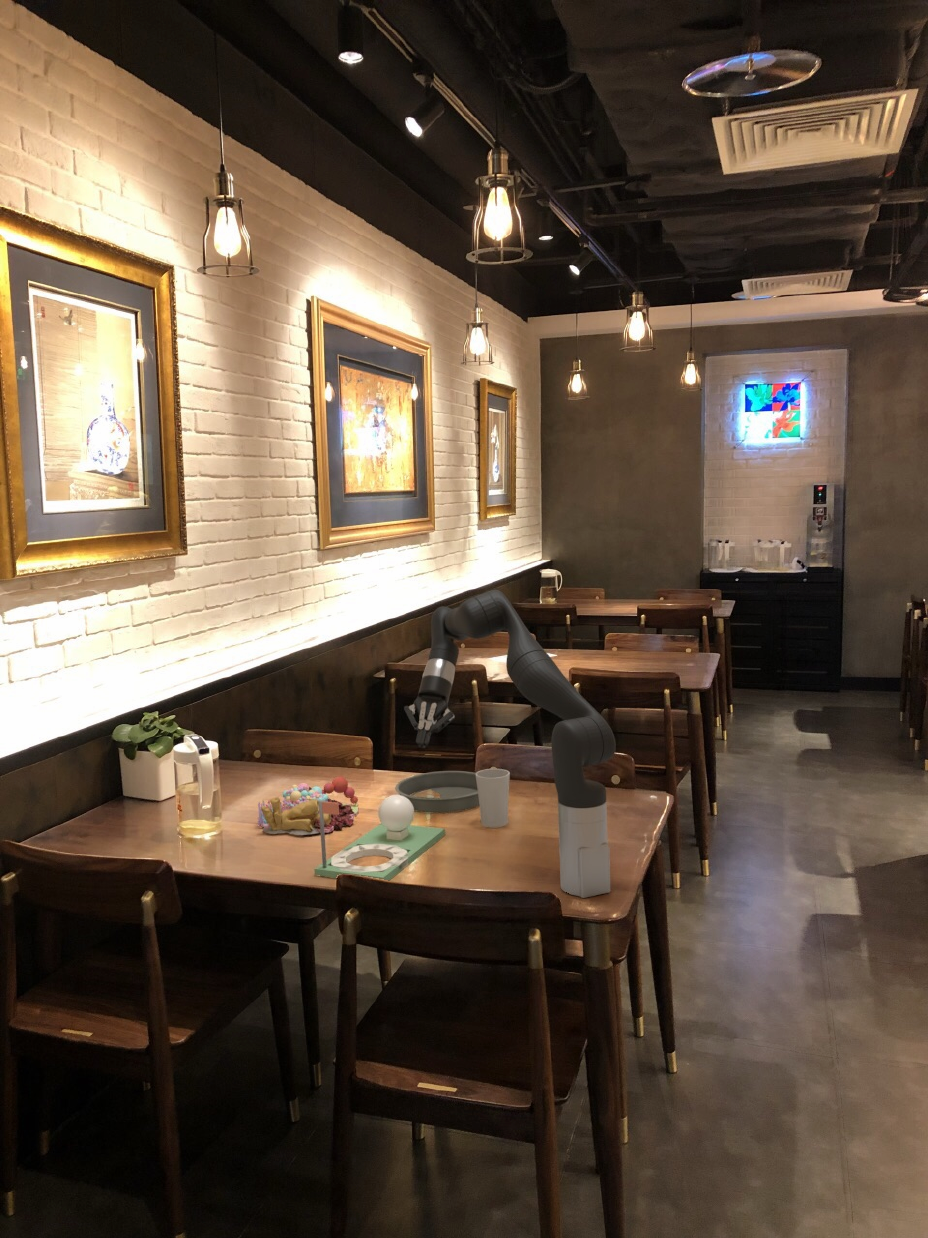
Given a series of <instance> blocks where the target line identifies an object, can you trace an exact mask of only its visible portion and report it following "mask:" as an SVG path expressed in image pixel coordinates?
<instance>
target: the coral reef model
mask: <svg viewBox="0 0 928 1238" xmlns="http://www.w3.org/2000/svg"><path fill="white" fill-rule="evenodd" d="M334 792H335V793H336V794H341V793H343V795H344V797H345V798H347V799H349V801H350V803H345V802H344V803H343V802H341V801H338V800H335V799H333V800H332V799H331V797H329V795H330V794H332V793H334ZM355 793H356V792H355V789H354V788H353V787H352V786H349V782H348V780H347V779H346V778H345V777H343V776H336V777H335V778H333V780H332V781H331V782H327V783H325V784H324V786H323V789H322V788H321V787H319V786H317V785H316V786H313V787H310V786H309V785H308V784H307V783H306V782H300V783H299V784H298V785H297V784H292V785H291V788H290V789H285V790H283V792H282V797H283V798H284V799H283V800H282V802H281V799H280V797H279V796H276V797H272V798H270V799H268V802H267V804H265V800H264V799H262V802H261V801H259V802H258V805H257V806H258V817H257V824H258V825H259V826H258V827H259V828H261V826H262V827H264V828H262V832H264V833H265V834H272V835H275V834H285V833H288V834H290V835H295V836H305V835H315V834H321V831H320V815H319V801H323V802H333V803H338V804H339V815H334V814H324V813H323V816H324V832H325V833H327V834H328V833H329V834H330V833H331V832H333V831H334V829H337V830H339V831H343V826H348V827H351V826H352V824H353V823H354V820H355V819H354V818H355V817H357V816H358V815H359V813H360V807H359V803H358V802H359V801H358V800H359V799H358V797H357V796H356V795H355ZM328 794H329V795H328Z"/></svg>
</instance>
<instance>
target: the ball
mask: <svg viewBox="0 0 928 1238" xmlns="http://www.w3.org/2000/svg"><path fill="white" fill-rule="evenodd" d="M377 813H378V814H377V815H378V820H379V822H380V824H382V825H383V826H384V827H385V828H386V829H388V830H390V831H402V830H404V829H406V828H407V827H408V826H409V825H412V823H413V821H414V817H415V810H414V807H413V805H412V803H411V802H410V800H409V799H407V798H406V797H404V796H401V795H400V794H392V795H390V796H387V797H386V798H384V799H383V800H382V802H381V803H380V805H379V807H378V812H377Z"/></svg>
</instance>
